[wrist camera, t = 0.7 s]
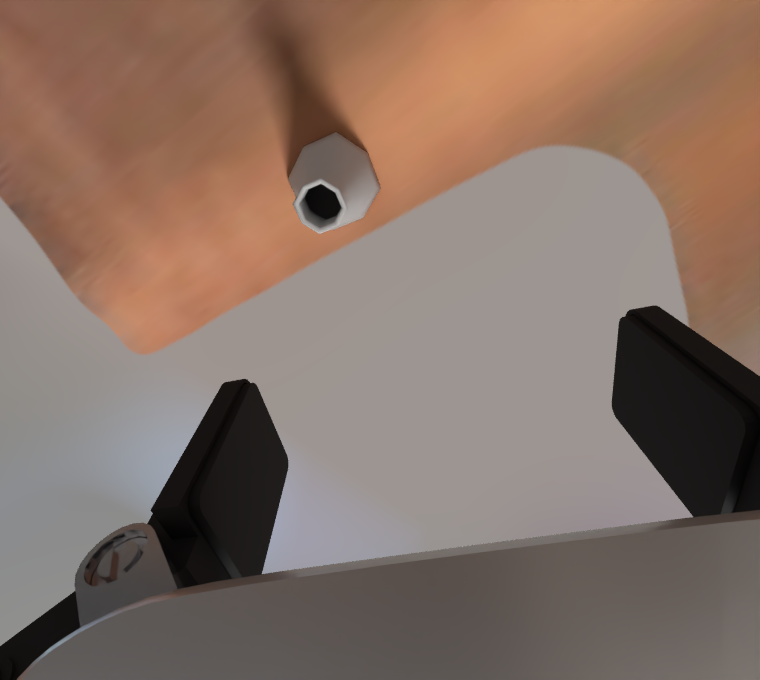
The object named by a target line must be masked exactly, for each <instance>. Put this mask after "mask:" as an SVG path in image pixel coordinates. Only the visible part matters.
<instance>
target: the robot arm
mask: <svg viewBox="0 0 760 680" xmlns="http://www.w3.org/2000/svg"><path fill="white" fill-rule="evenodd" d="M612 409H613V412H614V415H615V417H616V418H617V419H618V421H619V422H620V423H621V425H622V426H623V427H624V428H625V430H626V431H627V432H628V434H629V435H630V436H631V437H632V439H633V440H634V441H635V442H636V444H637V445H638V446H639V448H640V449H641V450H642V451H643V453H644V454H645V455H646V456H647V458H648V459H649V460H650V462H651V463H652V464H653V465H654V467H655V468H656V469H657V471H658V472H659V473H660V474H661V476H662V477H663V478H664V480H665V481H666V482H667V483H668V485H669V486H670V487H671V489H672V490H673V491H674V492H675V494H676V495H677V496H678V498H679V499H680V500H681V501H682V503H683V504H684V505H685V507H686V508H687V509H688V510H689V511H690V513H691V514H692V515H693V518H683V519H675V520H667V521H659V522H651V523H643V524H635V525H628V526H619V527H612V528H604V529H595V530H587V531H579V532H571V533H564V534H556V535H548V536H540V537H533V538H525V539H517V540H510V541H502V542H494V543H487V544H480V545H472V546H464V547H456V548H449V549H441V550H434V551H426V552H419V553H411V554H404V555H396V556H389V557H382V558H375V559H367V560H360V561H352V562H346V563H338V564H331V565H324V566H316V567H309V568H302V569H294V570H287V571H280V572H274V573H268V574H262V571H263V567H264V562H265V559H266V555H267V551H268V547H269V543H270V539H271V535H272V531H273V527H274V523H275V519H276V515H277V511H278V507H279V503H280V499H281V495H282V491H283V487H284V483H285V478H286V475H287V471H288V457H287V454H286V452H285V450H284V447H283V445H282V443H281V440H280V438H279V436H278V433H277V431H276V429H275V426H274V424H273V422H272V419H271V417H270V415H269V412H268V410H267V408H266V406H265V403H264V401H263V399H262V396H261V394H260V392H259V389H258V387H257V385H256V384H255V383H250V382H249V381H248V380H246V379H242V380H236V381H231V382H225V383H223V384H222V386H221V388H220V389H219V391H218V393H217V395H216V396H215V398H214V400H213V402H212V403H211V405H210V407H209V409H208V410H207V412H206V414H205V416H204V417H203V419H202V421H201V423H200V425H199V426H198V428H197V430H196V432H195V433H194V435H193V437H192V438H191V440H190V442H189V444H188V446H187V447H186V449H185V451H184V453H183V454H182V456H181V458H180V460H179V461H178V463H177V465H176V467H175V468H174V470H173V472H172V474H171V475H170V478H169V479H168V481H167V482H166V484H165V486H164V488H163V489H162V491H161V493H160V495H159V497H158V498H157V500H156V502H155V504H154V505H153V507H152V509H151V512H152V513H153V514H152V516H151V518H150V520H149V522H148V523H147V524H145V523H134V524H131V525H128V526H125V527H122V528H120V529H118V530H116V531H114V532H113V533H111V534H109V535H108V536H107V537H105V538H104V539H103V540H101V541H100V542H99V543H98V544H97V545H96V546H95V547H94V548H93V549H92V550H91V551H90V552H89V553H88V554H87V556H86V557H85V558H84V560H83V561H82V562H81V564H80V566H79V568H78V570H77V573H76V575H75V591H74V592H73V593H72V594H70V595H69V596H68V597H66V598H65V599H64V600H62V601H61V602H60V603H58V604H57V605H55V606H54V607H53V608H51V609H50V610H49V611H47V612H46V613H45V614H43V615H42V616H41V617H39V618H38V619H36V620H35V621H34V622H32V623H31V624H30V625H29V626H27V627H26V628H24V629H23V630H21V631H20V632H19V633H17V634H16V635H15V636H13V637H12V638H11V639H9V640H8V641H7V642H5V643H4V644H3V645H1V646H0V680H760V376H758V375H757V374H755V373H754V372H753V371H751V370H750V369H748V368H747V367H745V366H744V365H742V364H741V363H740V362H738V361H737V360H735V359H734V358H732V357H731V356H729V355H728V354H727V353H725V352H724V351H722V350H721V349H719V348H718V347H716V346H715V345H714V344H712V343H711V342H709V341H708V340H706V339H705V338H703V337H702V336H701V335H699V334H698V333H696V332H695V331H693V330H692V329H690V328H689V327H688V326H686V325H685V324H683V323H682V322H680V321H679V320H677V319H676V318H674V317H673V316H672V315H670V314H669V313H667V312H666V311H664V310H662V309H661V308H660V307H658V306H649V307H644V308H638V309H632V310H629V311H628V312H627V314H626V317H622V318H621V319H620V321H619V329H618V340H617V351H616V362H615V373H614V385H613V396H612Z"/></svg>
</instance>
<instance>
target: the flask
mask: <svg viewBox="0 0 760 680" xmlns="http://www.w3.org/2000/svg"><path fill="white" fill-rule="evenodd" d="M288 181H289V183H290V185H291V188H292V190H293V192H294V194H295V196H296V199H295V201H294V203H293V206H294V208H295V210H296V212H297V214H298V216H299V218H300V220H301V222H302V224H304V225H306V226H307V227H309V228H311V229H312V230H314V231H316V232H317V233H319V234H321V233H323V232H326V231H328V230H331V229H332V230H335V229H337V228H340V227H342V226H345V225H347V224H350V223H352V222H355V221H357V220H359V219H362V218H363V217H364V216H365V214H366V212H367V211H368V209H369V207H370V205H371V204H372V202H373V200H374V199H375V197H376V195H377V193H378V192H379V190H380V185H379V182H378V180H377V177H376V174H375V172H374V169H373V166H372V164H371V161H370V158H369V155H368V153H367V152H365V151H364V150H362V149H361V148H359V147H358V146H356V145H355V144H353V143H352V142H350V141H349V140H347V139H346V138H345V137H343V136H342V135H340V134H339V133H337V132H335V133H333V134H330V135H328V136H326V137H324V138H322V139H319V140H317V141H315V142H313V143H310V144H308V145H306V146H304V147H303V148H302V150H301V153H300V155H299V157H298V159H297V161H296V163H295V165H294V167H293V169H292V171H291V173H290V176H289V178H288Z"/></svg>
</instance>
